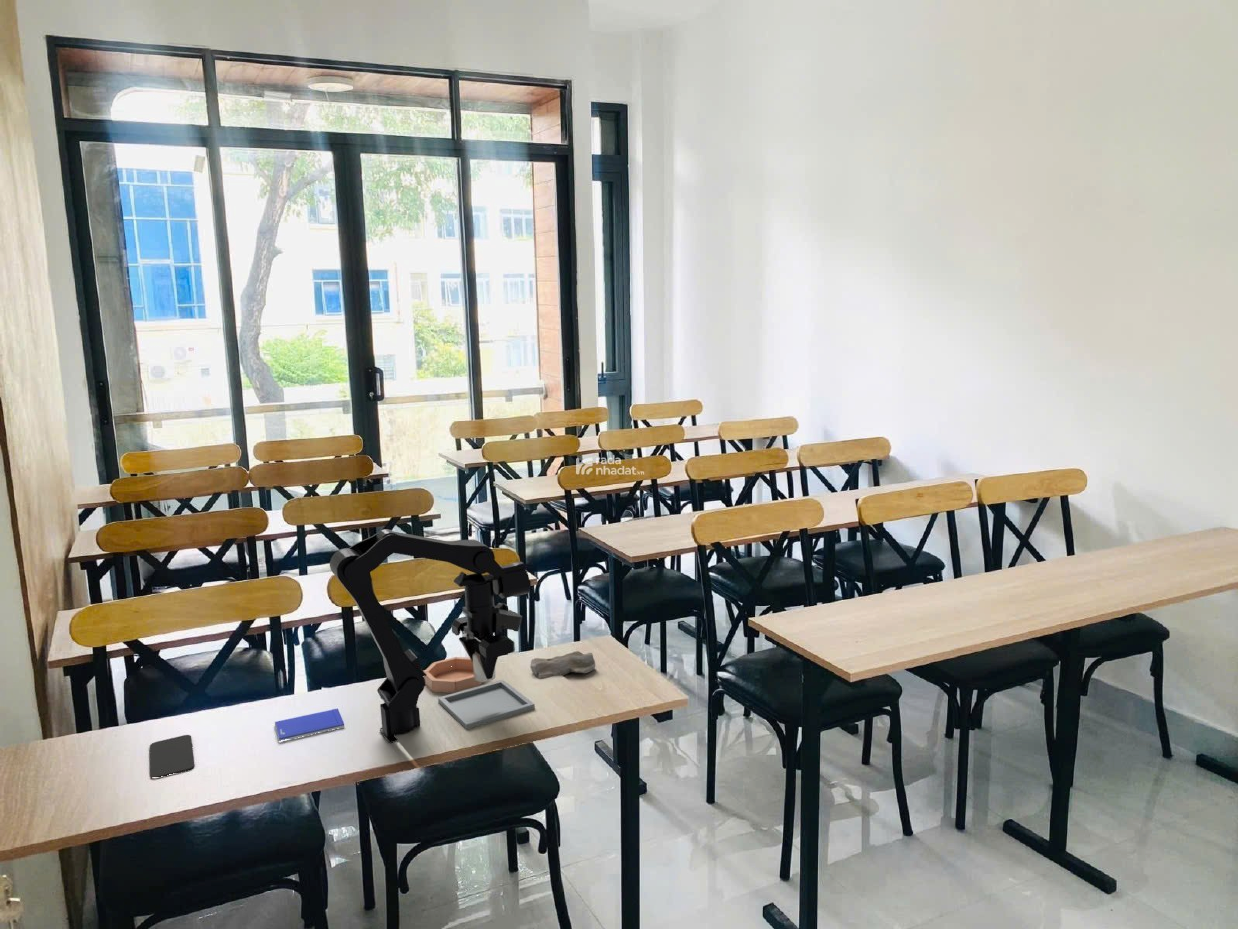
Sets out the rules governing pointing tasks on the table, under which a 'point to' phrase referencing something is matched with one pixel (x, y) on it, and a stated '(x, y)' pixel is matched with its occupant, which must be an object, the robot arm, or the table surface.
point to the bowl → (451, 675)
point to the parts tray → (485, 704)
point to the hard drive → (309, 724)
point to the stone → (563, 664)
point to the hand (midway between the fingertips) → (484, 674)
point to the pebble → (480, 671)
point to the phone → (171, 756)
